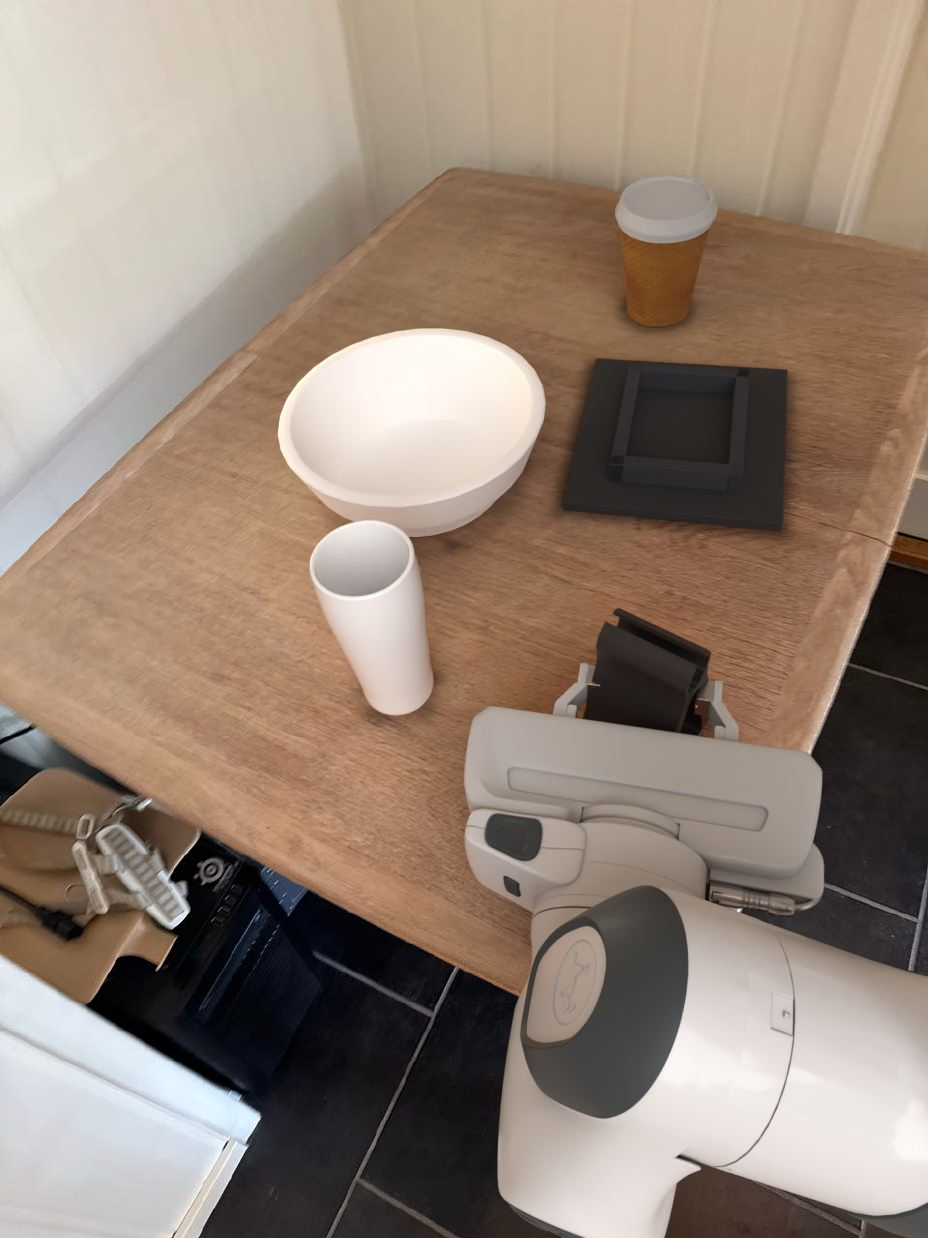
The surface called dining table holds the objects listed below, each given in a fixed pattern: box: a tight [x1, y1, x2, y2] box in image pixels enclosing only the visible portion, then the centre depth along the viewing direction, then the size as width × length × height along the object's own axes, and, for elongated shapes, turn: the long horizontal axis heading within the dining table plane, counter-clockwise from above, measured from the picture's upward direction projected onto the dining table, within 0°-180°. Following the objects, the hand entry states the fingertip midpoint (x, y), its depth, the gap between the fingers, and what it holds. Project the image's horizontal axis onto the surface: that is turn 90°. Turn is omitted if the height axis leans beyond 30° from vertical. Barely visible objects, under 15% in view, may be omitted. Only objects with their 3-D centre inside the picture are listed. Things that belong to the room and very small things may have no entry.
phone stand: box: [582, 607, 712, 736], centre depth 55 cm, size 9×6×12 cm, turn 143°
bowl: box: [277, 327, 547, 538], centre depth 76 cm, size 22×22×8 cm
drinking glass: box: [308, 520, 435, 716], centre depth 60 cm, size 7×7×15 cm
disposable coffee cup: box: [614, 173, 719, 328], centre depth 87 cm, size 10×10×12 cm
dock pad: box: [561, 357, 789, 532], centre depth 78 cm, size 18×20×3 cm
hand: (649, 676), depth 55 cm, fingers closed on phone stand, 6 cm apart
